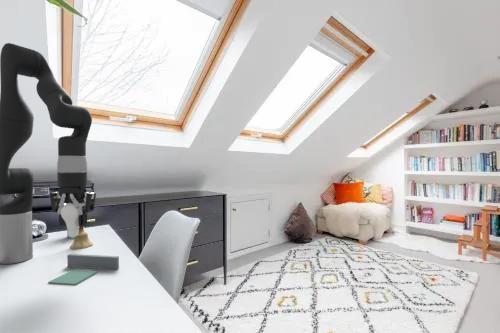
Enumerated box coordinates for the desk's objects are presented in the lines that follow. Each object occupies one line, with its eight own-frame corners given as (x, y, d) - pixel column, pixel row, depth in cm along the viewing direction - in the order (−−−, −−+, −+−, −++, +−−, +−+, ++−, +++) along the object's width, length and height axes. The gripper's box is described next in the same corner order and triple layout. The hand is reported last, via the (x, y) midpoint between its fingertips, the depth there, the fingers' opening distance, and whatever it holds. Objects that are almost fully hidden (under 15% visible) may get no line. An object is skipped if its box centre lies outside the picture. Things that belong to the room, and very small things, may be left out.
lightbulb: (73, 241, 78) (72, 203, 78) (55, 240, 79) (55, 203, 79) (89, 235, 84) (89, 200, 84) (73, 234, 85) (72, 200, 85)
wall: (67, 266, 91) (67, 255, 91) (70, 265, 92) (70, 253, 92) (116, 269, 88) (116, 257, 88) (118, 268, 89) (118, 256, 89)
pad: (48, 283, 78) (48, 282, 78) (72, 271, 87) (72, 269, 87) (75, 285, 77) (75, 283, 77) (97, 272, 86) (97, 271, 86)
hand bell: (76, 250, 108) (75, 210, 108) (65, 247, 112) (65, 209, 112) (96, 244, 115) (96, 207, 115) (86, 242, 119) (86, 206, 119)
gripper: (40, 171, 79) (41, 228, 79) (84, 171, 77) (85, 230, 77) (61, 170, 86) (62, 223, 87) (102, 170, 84) (103, 224, 84)
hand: (73, 226), depth 82 cm, fingers closed on lightbulb, 5 cm apart
